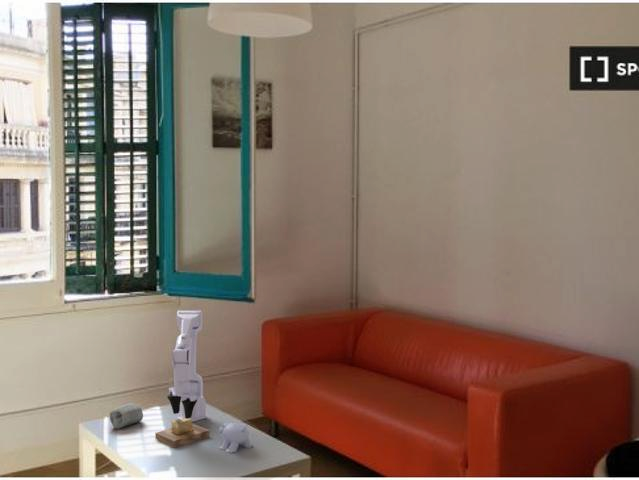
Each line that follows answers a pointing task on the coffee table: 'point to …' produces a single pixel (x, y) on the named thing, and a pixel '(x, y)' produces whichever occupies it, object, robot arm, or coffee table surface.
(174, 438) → the slot board
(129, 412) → the grey cylinder
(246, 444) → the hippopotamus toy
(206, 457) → the coffee table surface
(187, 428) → the key peg
